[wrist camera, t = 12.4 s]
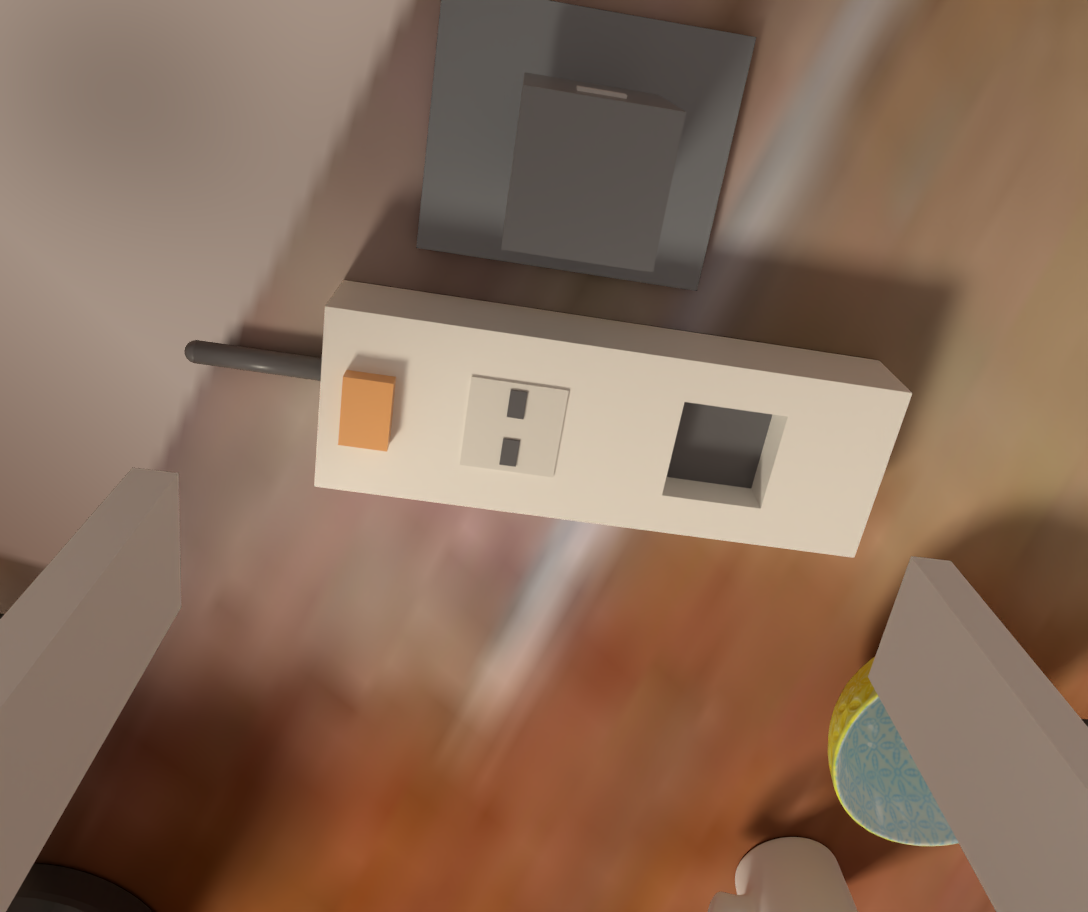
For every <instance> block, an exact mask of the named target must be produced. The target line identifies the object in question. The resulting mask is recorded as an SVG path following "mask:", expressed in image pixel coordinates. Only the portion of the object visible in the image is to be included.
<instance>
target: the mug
mask: <svg viewBox="0 0 1088 912" xmlns="http://www.w3.org/2000/svg"><path fill="white" fill-rule="evenodd" d="M735 885H736V890H737V895H733V894H729V893H726V892H718V893H716V894H715V896H714V897H713V899H712V901H711V902H710V905H709V909H708V912H858V911H857V909H856V906H855V903H854V901H853V898H852V896H851V893H850V891H849V889H848V886H847V884H846V882H845V879H844V877H843V874H842V872H841V869H840V867H839V865H838V862H837V860H836V858H835V856H834V855H833V853H832V852H831V851H830V850H829V849H828V848H827V847H825V846H824V845H822V844H821V843H819V842H817V841H814V840H811V839H807V838H802V837H783V838H778V839H773V840H770V841H767V842H765V843H762V844H760V845H758V846H757V847H755V848H754V849H752V850H751V851H750V852H748V853H747V854H746V855H745V856H744V858H743V859H742V860H741V862H740V863H739V865H738V867H737V870H736V874H735Z"/></svg>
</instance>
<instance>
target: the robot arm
mask: <svg viewBox="0 0 1088 912" xmlns="http://www.w3.org/2000/svg"><path fill="white" fill-rule="evenodd" d="M180 609H181V565H180V518H179V473H176V472H167V471H158V470H149V469H140V468H132V469H131V470H130V471H129V472H128V473H127V475H126V476H125V477H124V478H123V479H122V481H120V483H119V484H118V485H117V486H116V487H115V488H114V489H113V491H112V492H111V493H110V494H109V495H108V496H107V497H106V499H105V500H104V501H103V502H102V503H101V504H100V506H99V507H98V508H97V509H96V510H95V511H94V512H93V513H92V515H91V516H90V517H89V518H88V519H87V521H86V522H85V523H84V524H83V525H82V526H81V527H80V528H79V530H78V531H77V532H76V533H75V534H74V535H73V537H72V538H71V539H70V540H69V541H68V542H67V543H66V544H65V546H64V547H63V548H62V549H61V551H59V553H58V554H57V555H56V556H55V557H54V558H53V559H52V561H51V562H50V563H49V564H48V565H47V566H46V567H45V569H44V570H43V571H42V572H41V573H40V574H39V575H38V577H37V578H36V579H35V580H34V581H33V582H32V583H31V585H30V586H29V587H28V588H27V589H26V590H25V591H24V593H23V594H22V595H21V596H20V597H19V598H18V600H17V601H16V602H15V603H14V604H13V605H12V606H11V608H10V609H9V610H8V611H7V612H6V613H5V614H0V912H153V911H152V910H151V909H149V908H148V907H147V906H146V905H145V904H144V903H143V902H141V901H140V900H139V899H137V898H136V897H135V896H133V895H132V894H130V893H129V892H127V891H125V890H124V889H122V888H120V887H118V886H117V885H115V884H113V883H111V882H108V881H106V880H104V879H102V878H99V877H96V876H94V875H91V874H88V873H85V872H82V871H78V870H74V869H70V868H66V867H60V866H55V865H47V864H35V863H34V862H35V860H36V859H37V857H38V855H39V853H40V852H41V850H42V848H43V847H44V845H45V843H46V841H47V840H48V838H49V836H50V834H51V833H52V831H53V829H54V827H55V826H56V824H57V822H58V820H59V819H60V817H61V815H62V814H63V812H64V810H65V808H66V807H67V805H68V803H69V801H70V800H71V798H72V796H73V794H74V793H75V791H76V789H77V787H78V786H79V784H80V782H81V781H82V779H83V777H84V775H85V774H86V772H87V770H88V768H89V767H90V765H91V763H92V761H93V760H94V758H95V756H96V755H97V753H98V751H99V749H100V748H101V746H102V744H103V742H104V741H105V739H106V737H107V735H108V734H109V732H110V730H111V728H112V727H113V725H114V723H115V722H116V720H117V718H118V716H119V715H120V713H121V711H122V709H123V708H124V706H125V704H126V702H127V701H128V699H129V697H130V695H131V694H132V692H133V690H134V689H135V687H136V685H137V683H138V682H139V680H140V678H141V676H142V675H143V673H144V671H145V669H146V668H147V666H148V664H149V663H150V661H151V659H152V657H153V656H154V654H155V652H156V650H157V649H158V647H159V645H160V643H161V642H162V640H163V638H164V636H165V635H166V633H167V631H168V630H169V628H170V626H171V624H172V623H173V621H174V619H175V617H176V616H177V614H178V612H179V610H180ZM868 678H869V680H870V682H871V684H872V685H873V687H874V689H875V691H876V693H877V694H878V696H879V698H880V700H881V702H882V704H883V705H884V707H885V709H886V711H887V713H888V715H889V716H890V718H891V720H892V722H893V724H894V726H895V727H896V729H897V731H898V733H899V735H900V736H901V738H902V740H903V742H904V744H905V746H906V747H907V749H908V751H909V753H910V755H911V757H912V758H913V760H914V762H915V764H916V766H917V768H918V769H919V771H920V773H921V775H922V777H923V778H924V780H925V782H926V784H927V786H928V788H929V789H930V791H931V793H932V795H933V797H934V799H935V800H936V802H937V804H938V806H939V808H940V810H941V811H942V813H943V815H944V817H945V819H946V820H947V822H948V824H949V826H950V828H951V830H952V831H953V833H954V835H955V837H956V839H957V841H958V842H959V844H960V846H961V848H962V850H963V852H964V853H965V855H966V857H967V859H968V861H969V862H970V864H971V866H972V868H973V870H974V872H975V873H976V875H977V877H978V879H979V881H980V883H981V884H982V886H983V888H984V890H985V892H986V894H987V895H988V897H989V899H990V901H991V903H992V904H993V906H994V908H995V910H996V912H1088V720H1087V719H1081V718H1080V717H1079V716H1078V715H1077V713H1076V712H1075V711H1074V710H1073V708H1072V707H1071V706H1070V705H1069V704H1068V702H1067V701H1066V700H1065V699H1064V698H1063V696H1062V695H1061V694H1060V693H1059V691H1058V690H1057V689H1056V688H1055V687H1054V685H1053V684H1052V683H1051V682H1050V681H1049V679H1048V678H1047V677H1046V676H1045V674H1044V673H1043V672H1042V671H1041V670H1040V668H1039V667H1038V666H1037V665H1036V664H1035V662H1034V661H1033V660H1032V659H1031V657H1030V656H1029V655H1028V654H1027V653H1026V651H1025V650H1024V649H1023V648H1022V647H1021V645H1020V644H1019V643H1018V642H1017V641H1016V639H1015V638H1014V637H1013V636H1012V634H1011V633H1010V632H1009V631H1008V630H1007V628H1006V627H1005V626H1004V625H1003V624H1002V622H1001V621H1000V620H999V619H998V617H997V616H996V615H995V614H994V613H993V611H992V610H991V609H990V608H989V607H988V605H987V604H986V603H985V602H984V600H983V599H982V598H981V597H980V596H979V594H978V593H977V592H976V591H975V590H974V588H973V587H972V586H971V585H970V583H969V582H968V581H967V580H966V579H965V577H964V576H963V575H962V574H961V573H960V571H959V570H958V569H957V568H956V566H955V565H954V564H953V563H952V562H951V561H948V560H939V559H930V558H922V557H913V556H911V558H910V561H909V564H908V567H907V569H906V572H905V575H904V578H903V580H902V583H901V586H900V589H899V592H898V594H897V597H896V600H895V603H894V606H893V608H892V611H891V614H890V617H889V619H888V622H887V625H886V628H885V631H884V633H883V636H882V639H881V642H880V645H879V647H878V650H877V653H876V656H875V658H874V661H873V664H872V667H871V670H870V672H869V675H868Z"/></svg>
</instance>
